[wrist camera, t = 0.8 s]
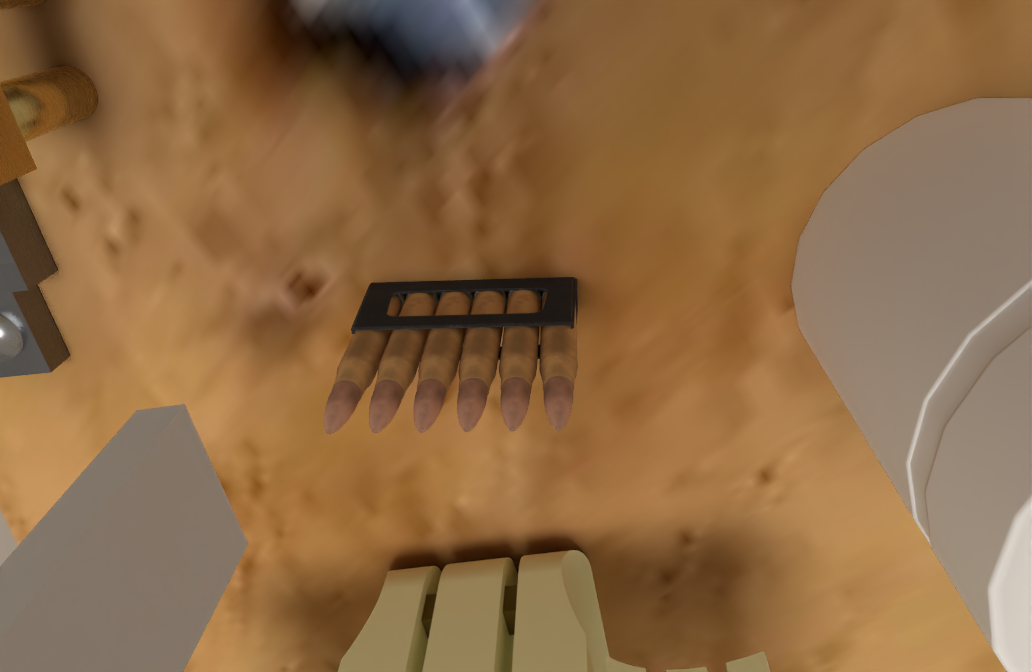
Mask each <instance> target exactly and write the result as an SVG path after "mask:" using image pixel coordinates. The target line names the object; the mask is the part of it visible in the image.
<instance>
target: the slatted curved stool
mask: <svg viewBox="0 0 1032 672" xmlns="http://www.w3.org/2000/svg"><path fill="white" fill-rule="evenodd" d="M726 668H727V672H770V669H769V665H768V662H767V658H766V655H765V651H762V652H759V653H756V654H753V655H751V656H748V657H745V658H741V659H737V660H734V661H730V662H726ZM338 672H646V668H642V667H636V666H632V665H628V664H625V663H622V662H619V661H617V660H614V659H612V658H610V657H609V652H608V647H607V642H606V638H605V633H604V628H603V623H602V618H601V613H600V608H599V604H598V599H597V594H596V589H595V584H594V579H593V574H592V570H591V565H590V562H589V560H588V559H587V557H586V556H585V555H584V554H583V553H582V552H580V551H577V550H569V551H560V552H551V553H542V554H533V555H524V556H522V558H521V560H520V564H519V572H518V574H517V570H516V567H515V565H514V562H513V561H512V559H511V558H509V557H507V558H498V559H489V560H480V561H471V562H462V563H453V564H448V565H446V566H445V567H444V569H443V571H441V570H440V569H439V568H438V567H437V566H427V567H418V568H409V569H400V570H391V571H387V574H386V578H385V581H384V585H383V588H382V591H381V594H380V596H379V599H378V601H377V603H376V605H375V608H374V609H373V611H372V613H371V615H370V617H369V618H368V620H367V622H366V624H365V625H364V627H363V629H362V630H361V632H360V633H359V635H358V636H357V638H356V639H355V641H354V643H353V644H352V645H351V647H350V648H349V649H348V651H347V652H346V654H345V655H344V656H343V658H342V659H341V662H340V666H339V669H338ZM666 672H707V669H706V667H699V668H691V669H675V670H666Z"/></svg>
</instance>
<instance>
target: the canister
mask: <svg viewBox="0 0 1032 672" xmlns="http://www.w3.org/2000/svg"><path fill="white" fill-rule="evenodd" d="M791 290H792V295H793V301H794V306H795V311H796V316H797V322H798V327H799V330H800V331H801V333H802V335H803V336H804V338H805V340H806V341H807V343H808V345H809V346H810V348H811V350H812V351H813V353H814V355H815V356H816V358H817V359H818V361H819V363H820V364H821V366H822V368H823V369H824V371H825V373H826V374H827V376H828V378H829V379H830V381H831V383H832V384H833V386H834V388H835V389H836V391H837V393H838V394H839V396H840V398H841V399H842V401H843V403H844V404H845V406H846V408H847V409H848V411H849V412H850V414H851V416H852V417H853V419H854V421H855V422H856V424H857V426H858V427H859V429H860V431H861V432H862V434H863V436H864V437H865V439H866V441H867V442H868V444H869V446H870V447H871V449H872V451H873V452H874V454H875V456H876V457H877V459H878V460H879V462H880V464H881V465H882V467H883V469H884V470H885V472H886V474H887V475H888V477H889V479H890V480H891V482H892V484H893V485H894V487H895V489H896V490H897V492H898V494H899V495H900V497H901V499H902V500H903V502H904V504H905V505H906V507H907V509H908V510H909V512H910V513H911V515H912V517H913V518H914V520H915V522H916V523H917V525H918V526H919V528H920V529H921V531H922V532H923V534H924V535H925V537H926V538H927V540H928V541H929V543H930V545H931V548H932V550H933V552H934V553H935V555H936V557H937V558H938V560H939V562H940V563H941V565H942V566H943V568H944V570H945V571H946V573H947V575H948V576H949V578H950V580H951V581H952V583H953V585H954V586H955V588H956V590H957V591H958V593H959V595H960V596H961V598H962V600H963V601H964V603H965V605H966V606H967V608H968V610H969V611H970V613H971V615H972V616H973V618H974V619H975V621H976V623H977V624H978V626H979V628H980V629H981V631H982V633H983V634H984V636H985V638H986V639H987V641H988V643H989V644H990V646H991V648H992V649H993V651H994V653H995V654H996V656H997V657H998V659H999V660H1000V662H1001V663H1002V665H1003V666H1004V668H1005V669H1006V671H1007V672H1032V98H975V99H972V100H968V101H965V102H962V103H958V104H955V105H952V106H949V107H945V108H942V109H939V110H935V111H932V112H929V113H926V114H922V115H919V116H916V117H915V118H913V119H911V120H910V121H908V122H907V123H905V124H903V125H902V126H900V127H899V128H897V129H895V130H894V131H892V132H890V133H889V134H887V135H886V136H884V137H882V138H881V139H879V140H878V141H876V142H874V143H873V144H871V145H870V146H868V147H866V148H865V149H863V151H862V152H861V153H860V154H859V155H858V156H857V157H856V158H855V159H854V160H853V161H852V162H851V163H850V164H849V165H848V166H847V167H846V169H845V170H844V171H843V172H842V173H841V174H840V175H839V176H838V177H837V178H836V179H835V180H834V181H833V182H832V183H831V184H830V186H829V187H828V188H827V189H826V190H825V191H824V192H823V194H822V196H821V198H820V200H819V201H818V203H817V205H816V207H815V209H814V211H813V213H812V215H811V217H810V219H809V221H808V223H807V224H806V226H805V228H804V230H803V232H802V234H801V236H800V238H799V241H798V247H797V252H796V258H795V264H794V270H793V276H792V282H791Z"/></svg>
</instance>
